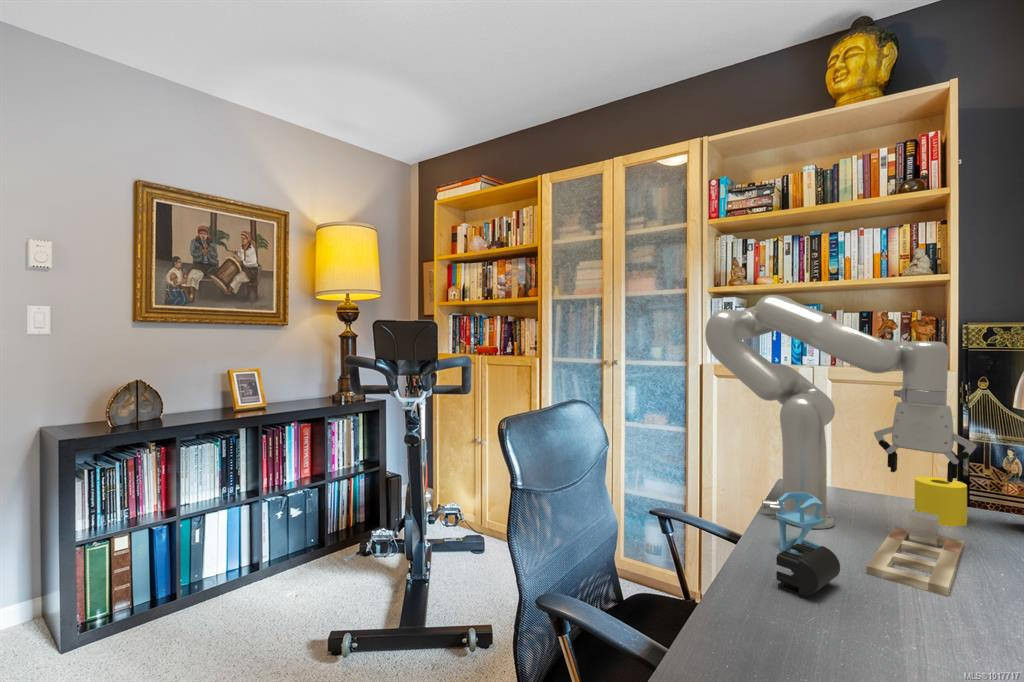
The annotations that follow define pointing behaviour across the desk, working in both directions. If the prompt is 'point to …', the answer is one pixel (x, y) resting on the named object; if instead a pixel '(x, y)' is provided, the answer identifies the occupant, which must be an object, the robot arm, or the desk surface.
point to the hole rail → (917, 561)
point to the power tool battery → (807, 569)
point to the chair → (798, 519)
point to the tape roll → (942, 499)
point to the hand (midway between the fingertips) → (921, 475)
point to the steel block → (924, 528)
